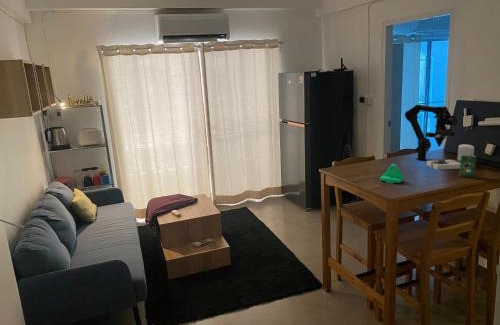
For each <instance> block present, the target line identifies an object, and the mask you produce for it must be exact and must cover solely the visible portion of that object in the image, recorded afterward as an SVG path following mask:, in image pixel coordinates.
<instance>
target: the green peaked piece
mask: <svg viewBox="0 0 500 325" xmlns="http://www.w3.org/2000/svg"><path fill="white" fill-rule="evenodd" d="M404 179H405V177H404V175H403V173H402V172H401V170H400V168H399V166H398V165H397V164H395V163H391V165H388V168H387V170H386V171H385V172H384V174H383V175H382V176H380V178H379V180H380V181H383V182H385V183H387V184H395V183H399V184H400V183H402V182H403V181H404Z"/></svg>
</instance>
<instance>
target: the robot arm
mask: <svg viewBox="0 0 500 325" xmlns="http://www.w3.org/2000/svg"><path fill="white" fill-rule="evenodd" d="M422 111H423V112H429V113H433V114H434V115H435V116H433V118H435V119H436V121H435V122H436V123H435V126H434V127H435V131H434V132H432V131H431V132H426V133H425V135H424V132H423V131H422V128H421V125H420V124H419V120H418V118H419V117H418V115H419V113H420V112H422ZM404 117H405V119H406V120H407V121H408V123H410V125H411V127H412V130H413V131H414V134H415V136H416V138H417V146H416V148H414V151H415V152H416V153H417V156H416V157H415V160H417V161H420V162H421V161H429V159H428V158H427V152H429V150H430V149H431V148H432V142H431V140H430V138H434V139H435V142H436V143H437V147H441V146H442V144H443V141H444V140H445V139H447V137H456V133H455V131H453V129H452V128H447V126H457V125H458V118H457V116H456V115H452V114H451V112H450V111H449V109H448V106H445V105H444V106H432V105H424V104H416V105H414V106H413V107H412V108H410V109H408V110H407V111H405V113H404Z"/></svg>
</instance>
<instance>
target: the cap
mask: <svg viewBox="0 0 500 325" xmlns="http://www.w3.org/2000/svg"><path fill="white" fill-rule="evenodd" d="M445 160H446V159H445V158H444V159H443V158H436V159H434V161H435V163H437V164H445Z"/></svg>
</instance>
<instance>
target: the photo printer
mask: <svg viewBox="0 0 500 325" xmlns="http://www.w3.org/2000/svg"><path fill="white" fill-rule="evenodd" d="M474 154H475V147H474V146H473V145H472V144H468V143H467V144H459V145H458V148H457V162H461V155H466V156H475V155H474Z"/></svg>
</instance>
